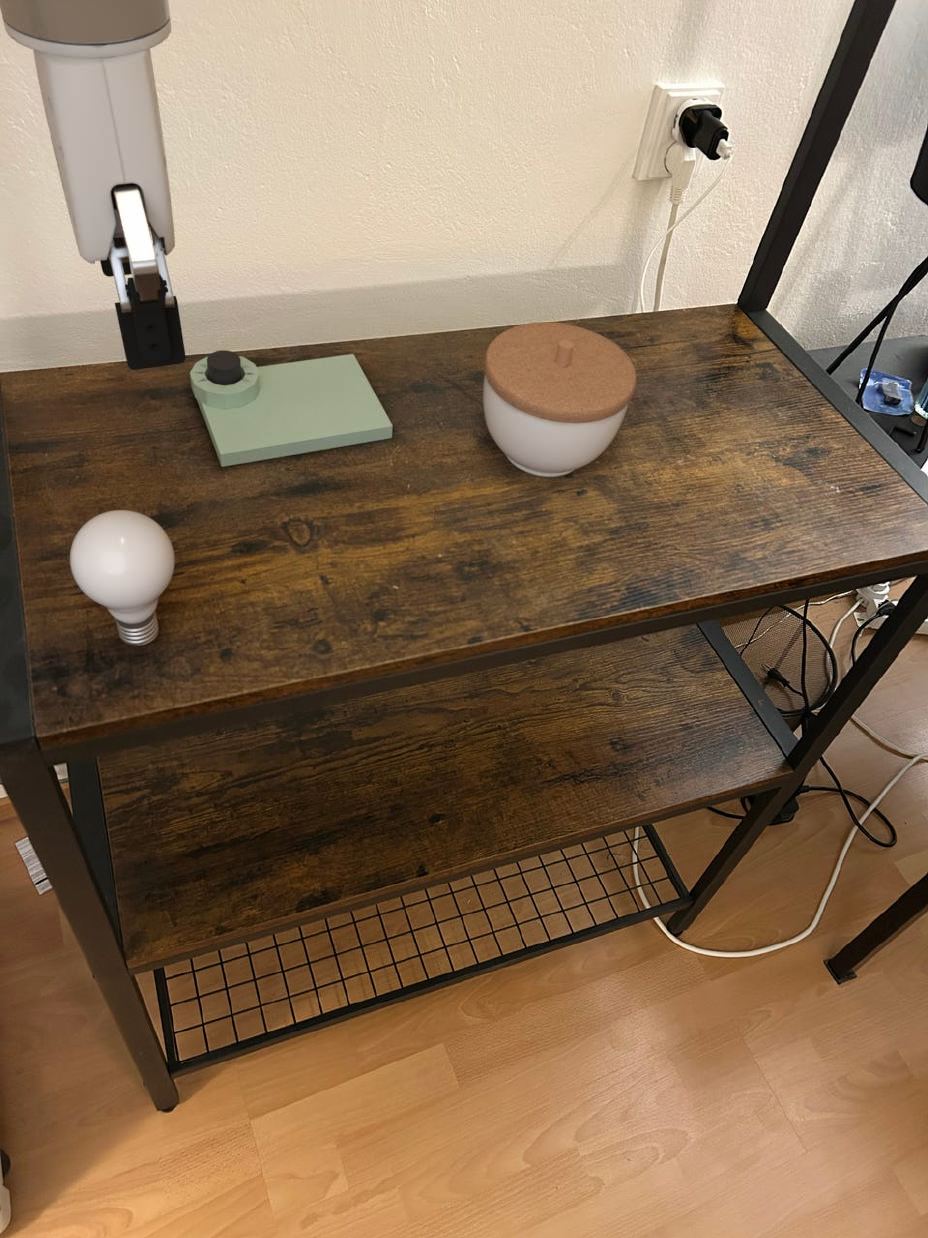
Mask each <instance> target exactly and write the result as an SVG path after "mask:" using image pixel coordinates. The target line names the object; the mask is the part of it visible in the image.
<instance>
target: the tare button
mask: <svg viewBox="0 0 928 1238" xmlns="http://www.w3.org/2000/svg"><path fill="white" fill-rule="evenodd" d="M239 356H240V355H238V353H236V352H234V351H232V350H225V349H221V350H216V351H214V352H211V353H210V354H208V356H207V357H208V358H207V367H208V376H209V380H210V381H211V382H212V383H214V384H219V385H231V384H235V383H237V382H239V381H240V380H241V377H242V375H241V361H240V357H239Z"/></svg>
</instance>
